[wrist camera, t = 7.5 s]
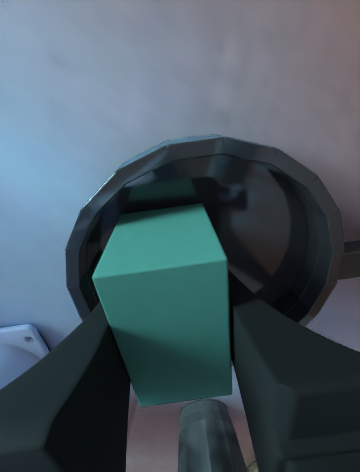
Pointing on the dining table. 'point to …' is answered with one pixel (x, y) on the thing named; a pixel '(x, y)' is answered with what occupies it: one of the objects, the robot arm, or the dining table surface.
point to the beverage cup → (208, 439)
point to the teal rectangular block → (168, 304)
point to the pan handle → (350, 261)
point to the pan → (224, 218)
